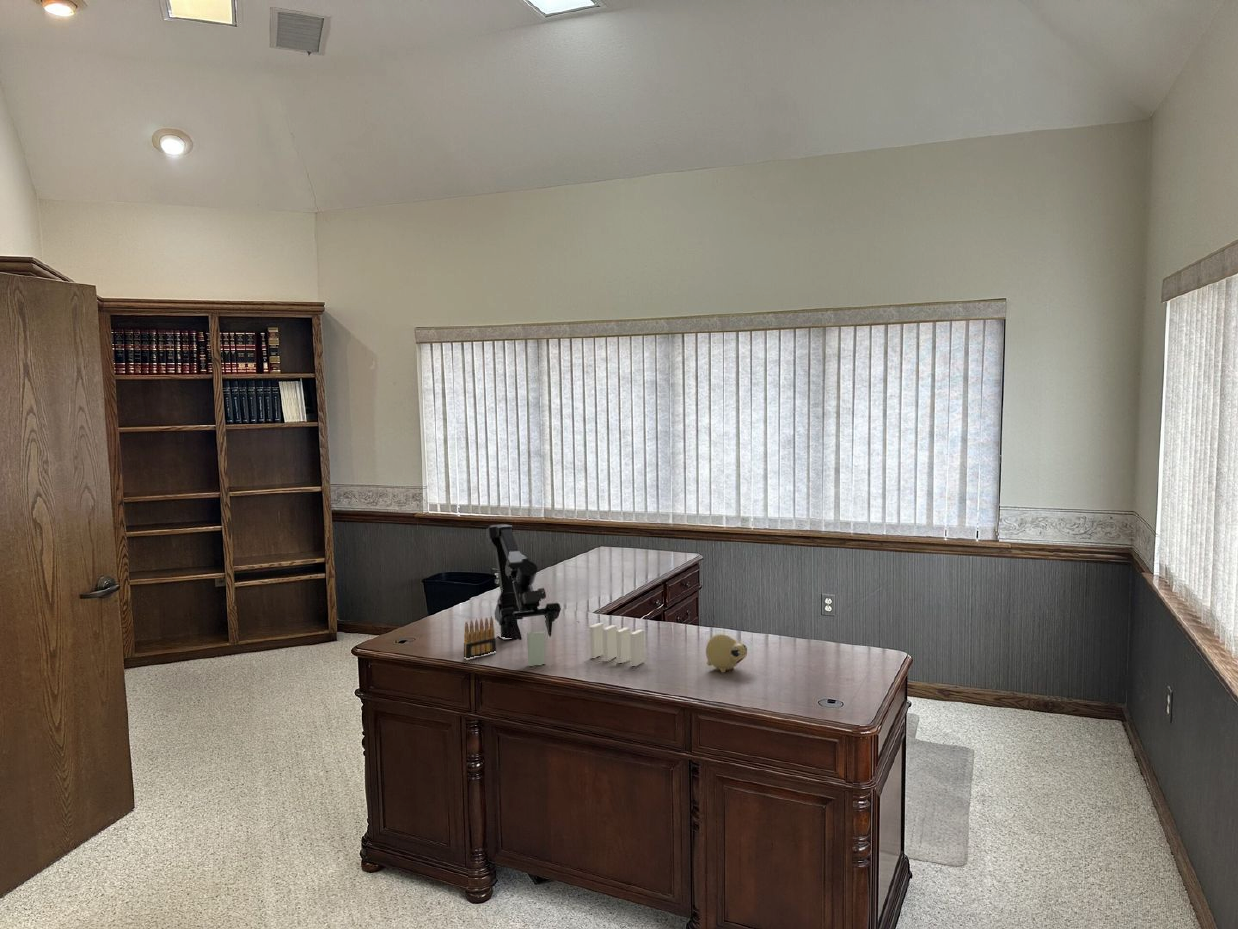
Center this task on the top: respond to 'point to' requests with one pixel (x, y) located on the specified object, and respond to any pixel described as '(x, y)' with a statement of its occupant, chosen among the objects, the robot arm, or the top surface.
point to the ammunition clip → (479, 639)
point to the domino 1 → (536, 648)
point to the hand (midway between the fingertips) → (535, 637)
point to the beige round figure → (724, 652)
